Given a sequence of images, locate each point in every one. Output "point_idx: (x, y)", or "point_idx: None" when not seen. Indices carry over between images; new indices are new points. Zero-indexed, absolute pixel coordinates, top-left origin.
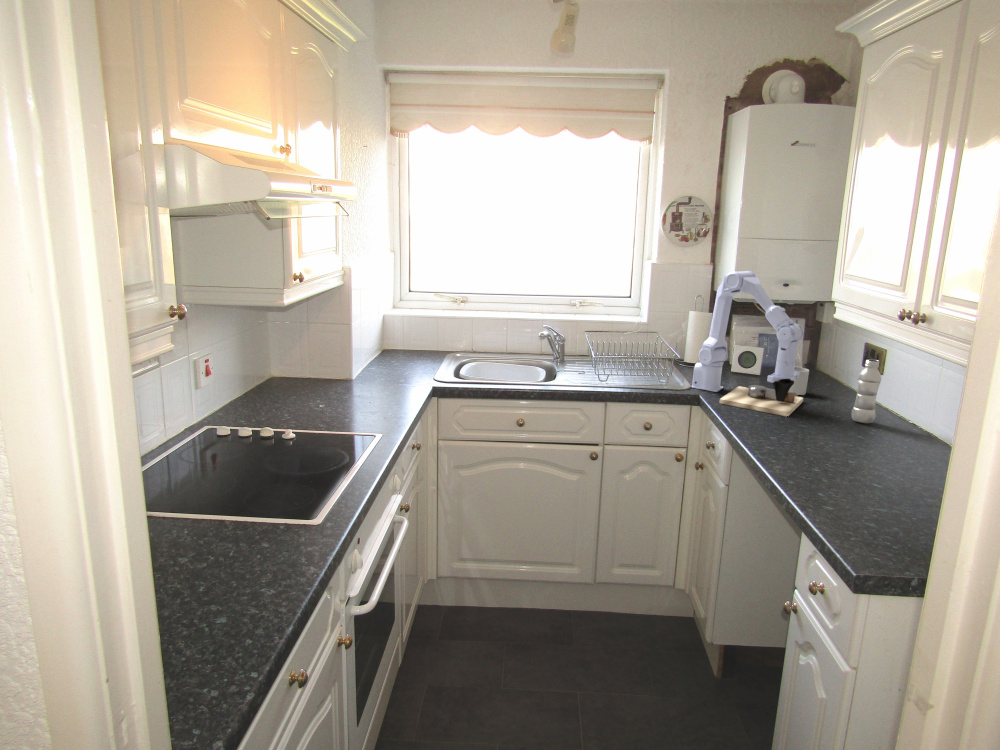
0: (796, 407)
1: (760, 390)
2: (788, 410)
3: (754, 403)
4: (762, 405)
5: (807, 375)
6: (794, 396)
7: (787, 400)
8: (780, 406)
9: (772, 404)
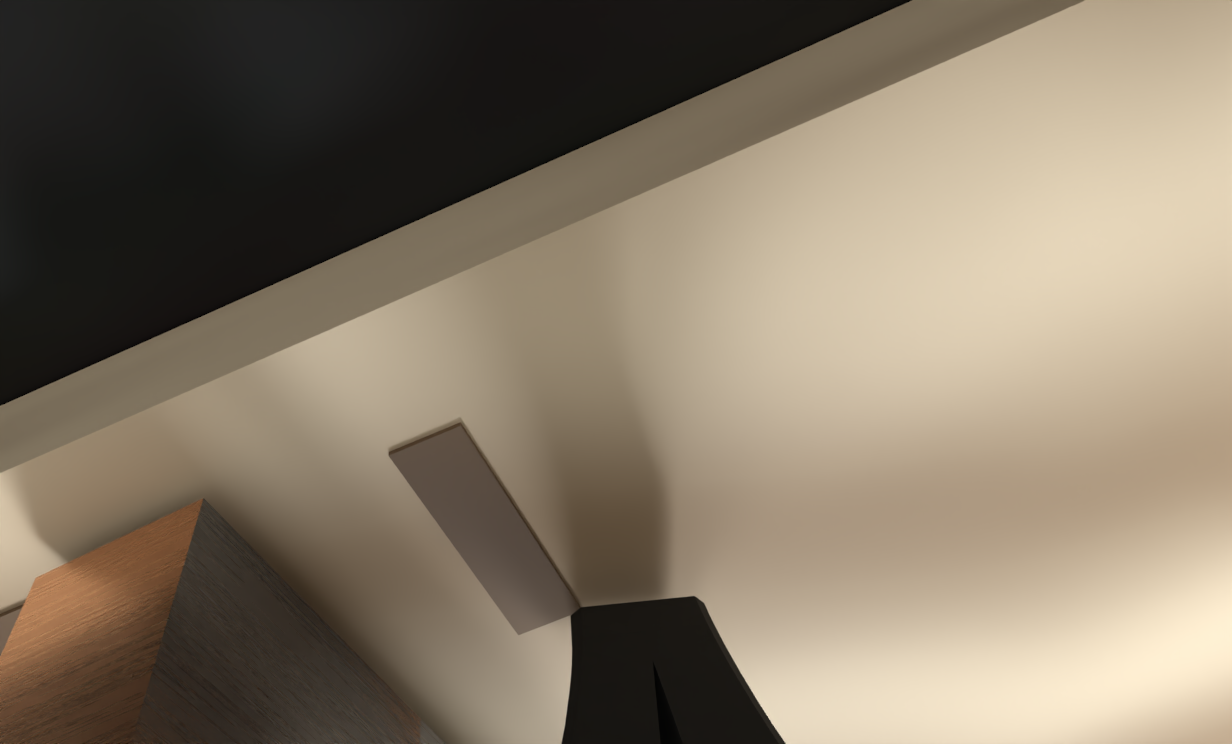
0: (122, 361)
1: None
2: (1149, 25)
3: (1181, 738)
4: (1213, 607)
5: None
6: (151, 681)
7: (317, 651)
8: (903, 418)
9: (900, 596)
